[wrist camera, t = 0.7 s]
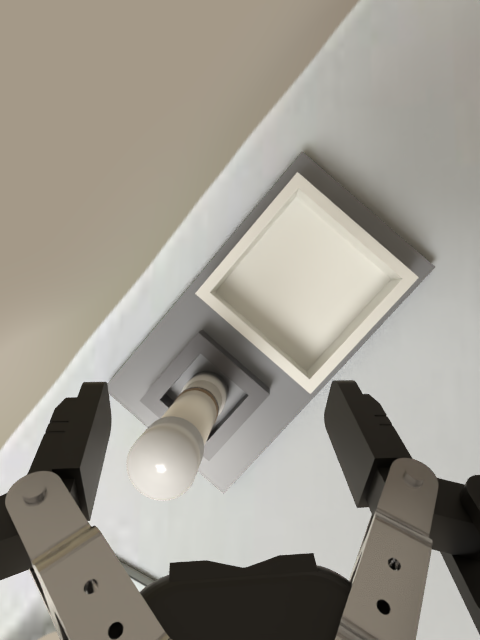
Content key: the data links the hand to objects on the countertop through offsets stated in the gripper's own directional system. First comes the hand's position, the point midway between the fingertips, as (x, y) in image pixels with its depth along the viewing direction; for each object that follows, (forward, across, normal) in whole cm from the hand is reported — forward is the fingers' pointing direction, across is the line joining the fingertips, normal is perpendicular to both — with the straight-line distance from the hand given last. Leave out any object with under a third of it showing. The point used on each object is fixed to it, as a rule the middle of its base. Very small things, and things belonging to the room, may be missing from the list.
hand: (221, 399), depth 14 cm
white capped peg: (+15, 0, +13) cm, 20 cm away
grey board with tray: (+18, -5, +8) cm, 20 cm away
